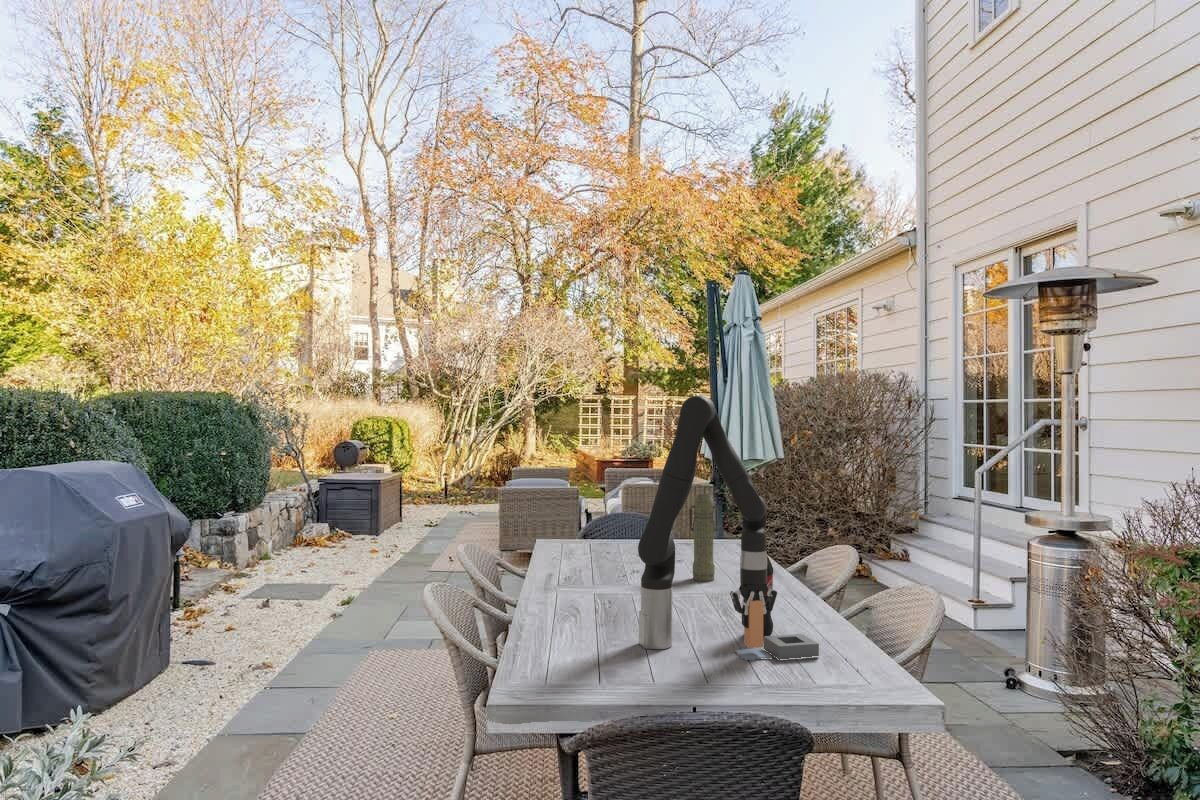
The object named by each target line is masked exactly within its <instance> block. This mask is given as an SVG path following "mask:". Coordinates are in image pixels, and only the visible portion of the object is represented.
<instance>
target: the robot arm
mask: <svg viewBox="0 0 1200 800" xmlns="http://www.w3.org/2000/svg"><path fill="white" fill-rule="evenodd" d="M702 438H703V439H704V441H705V443H706V444H707V447H708V449H709V452H710V453H711V456H712V458H713V459H712V460H714V464H715V466H716V468H717V471H718V473H719V475H720V476H721V478H722V480H723V482H724V483H725V485H726V487H727V489H728V490H729V491H730V493H731V495H732V498H733V500H734V502H735V504H736V507H737V508H738V511H739V513H740V514H741V516H742V531H741V538H740V556H739V569H740V570H739V571H740V572H739V574H740V575H739V579H740V580H739V583H740V585H739V588H738V590H734V591H733V590H731V591H730V592H729V595H730V598H731V601H732V605H733V607H734V610H735V611H736V612H737V613H739V614H741V625H742V626H743V628H744V627H745V628H749V615H748V613H749V606H750V601H752V600H763V627H764V625H765V624H766V613H767V612H769V611H770V612H771V613H772V611H773V609H774V605H775V603H776V599H777V596H778V592H777V591H776V590H775V589H774V588H773V589H768V587H767V556H768V555H767V554H768V553H767V534H766V527H767V513H768V511H767V510H768V506H767V502H766V501H765V499H764V498H763V497H762V496H760V495H759V494H758V491H757V490H756V488H755V487H754V485H753V482H752V479H751V476H750V474H749V472H748V471H747V469H746V467H745V466H744V464H743V462H742V460H741V459H740V456H739V455H738V454H737V451H736V450H735V448H734V447H733V446H732V443H731V442H730V440H729V438H728V436H727V434H726V432H725V430H724V427H723V426H722V422H721V420H720V417H719V415H718V411H717V409H716V406H715V403H714V402H713V401H712V400H711V399H710V398H709V397H707V396H704V395H692V396H690V397H688V398H686V399H685V400H684V402H683V403H682V404H681V407H680V410H679V416H678V422H677V427H676V432H675V436H674V440H673V442H672V445H671V447H670V450H669V452H668V454H667V457H666V462H665V464H664V466H663V469H662V473H661V476H660V479H659V483H658V487H657V491H656V493H655V497H654V500H653V504H652V509H651V511H650V515H649V518H648V521H647V522H646V525H645V528H644V530H643V532H642V535H641V537H640V540H639V542H638V546H637V552H638V557H639V559H640V560H641V562H642V563H643V564H645V567H644V570H643V573H642V575H641V578H640V610H639V611H638V644H639V645H640V646H641V647H642V648H643V649H646V650H647V649H650V650H665V649H669V648H672V646H673V582H674V577H675V572H676V571H675V569H676V544H675V541H674V538H673V536H671V532H672V529H673V526H674V523H675V521H676V519H677V518H678V516H679V514H680V512H681V511H682V509H683V507H684V505H685V504H686V501H687V499H688V497H689V495H690V492H691V489H692V485H693V483H694V479H695V475H696V470H697V463H698V461H697V460H698V451H699V447H700V443H701V440H702ZM767 593H768V594H767ZM766 594H767V595H768V598H767V602H766V605H765V601H764V597H765V595H766ZM740 597H742V601H741V602H740ZM745 600H746V601H747V603H746V602H745Z"/></svg>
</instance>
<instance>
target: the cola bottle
mask: <svg viewBox="0 0 1200 800" xmlns="http://www.w3.org/2000/svg"><path fill="white" fill-rule="evenodd" d="M767 587H768V589H773V590H774V567H773V564H772V563H771V560H770V558H769V557H768V555H767ZM767 594H768V593H767ZM767 594H766V595H765V597H764V601H765V605H766V602H767V598H768V595H767ZM771 614H772V611H771V612H770V611H769V612H767V613H766V624H765V625H764V627H763V639H764V636H772V635H773V631H774V623H773V618H772V615H771Z"/></svg>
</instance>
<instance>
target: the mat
mask: <svg viewBox="0 0 1200 800" xmlns="http://www.w3.org/2000/svg"><path fill="white" fill-rule="evenodd" d="M735 652H736V653H738V654H739V655H740V656H741V657H740V656H739V655H738V654H737V655H738V656H739V657H740V658H742V657H743V658H744V659H745V660H744V659H743V658H742V659H743V660H744V661H746V660H750V661H754V660H753V659H761V658H772V657H773V656H771V655H770V654H769V653H767V652H766V651H764V649H762V647H758V648H746V649H745V648H744V649H734V653H735ZM736 653H735V654H736Z"/></svg>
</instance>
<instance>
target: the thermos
mask: <svg viewBox="0 0 1200 800" xmlns="http://www.w3.org/2000/svg"><path fill="white" fill-rule="evenodd" d="M693 508H694V520H693V519H692V518H693ZM714 509H715V521H714V515H713V514H714ZM688 512H689V516H688V517H689V529H690V531H691V532H692V537H693V562H692V580H693V581H694V582H701V583H708V582H709V583H710V581H711V582H714V581H715V572H716V571H715V569H716V568H715V564H714V539H715V535H716V532H718V531H719V507H717V505H714V500H713V496H712V494H709V493H698V494H696V496H695V500H694V505H691V506H690V508H689V509H688ZM692 521H693V522H692Z"/></svg>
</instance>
